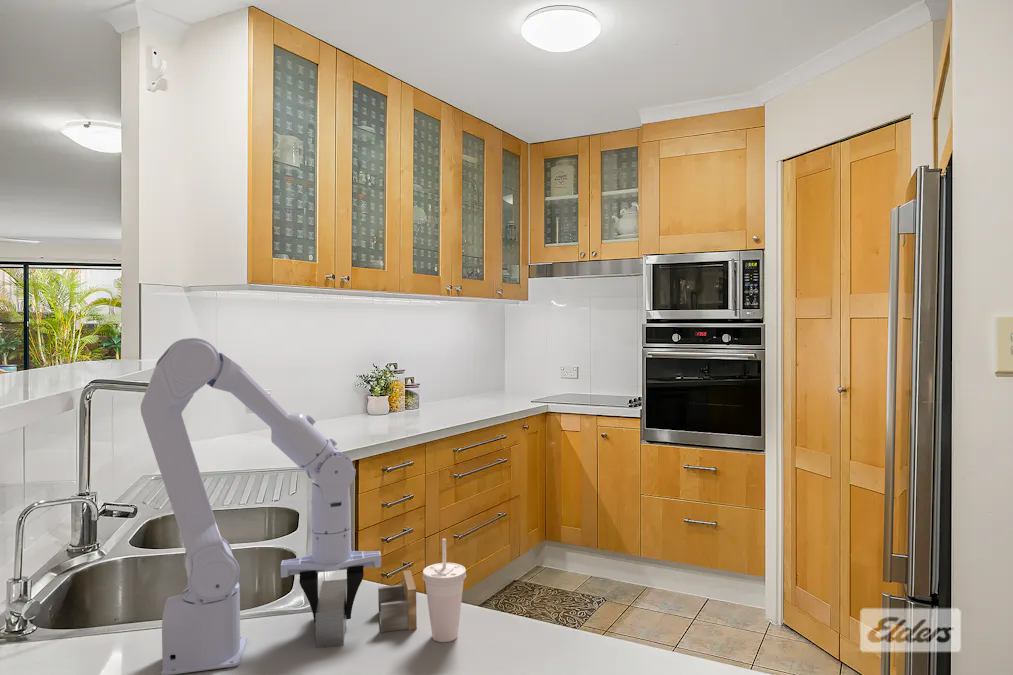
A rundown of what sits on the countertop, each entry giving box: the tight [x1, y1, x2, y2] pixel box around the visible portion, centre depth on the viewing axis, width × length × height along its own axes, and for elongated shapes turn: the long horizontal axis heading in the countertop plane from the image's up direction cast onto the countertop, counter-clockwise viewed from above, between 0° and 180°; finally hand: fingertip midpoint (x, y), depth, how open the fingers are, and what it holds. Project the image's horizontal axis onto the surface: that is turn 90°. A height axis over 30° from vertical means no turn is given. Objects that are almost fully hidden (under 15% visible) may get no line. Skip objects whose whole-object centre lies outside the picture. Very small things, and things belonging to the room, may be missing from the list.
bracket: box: [377, 569, 418, 633], centre depth 98 cm, size 5×8×6 cm, turn 15°
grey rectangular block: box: [315, 578, 348, 649], centre depth 96 cm, size 12×4×5 cm, turn 11°
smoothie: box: [422, 538, 467, 643], centre depth 92 cm, size 6×6×14 cm
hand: (332, 618), depth 96 cm, fingers closed on grey rectangular block, 4 cm apart
